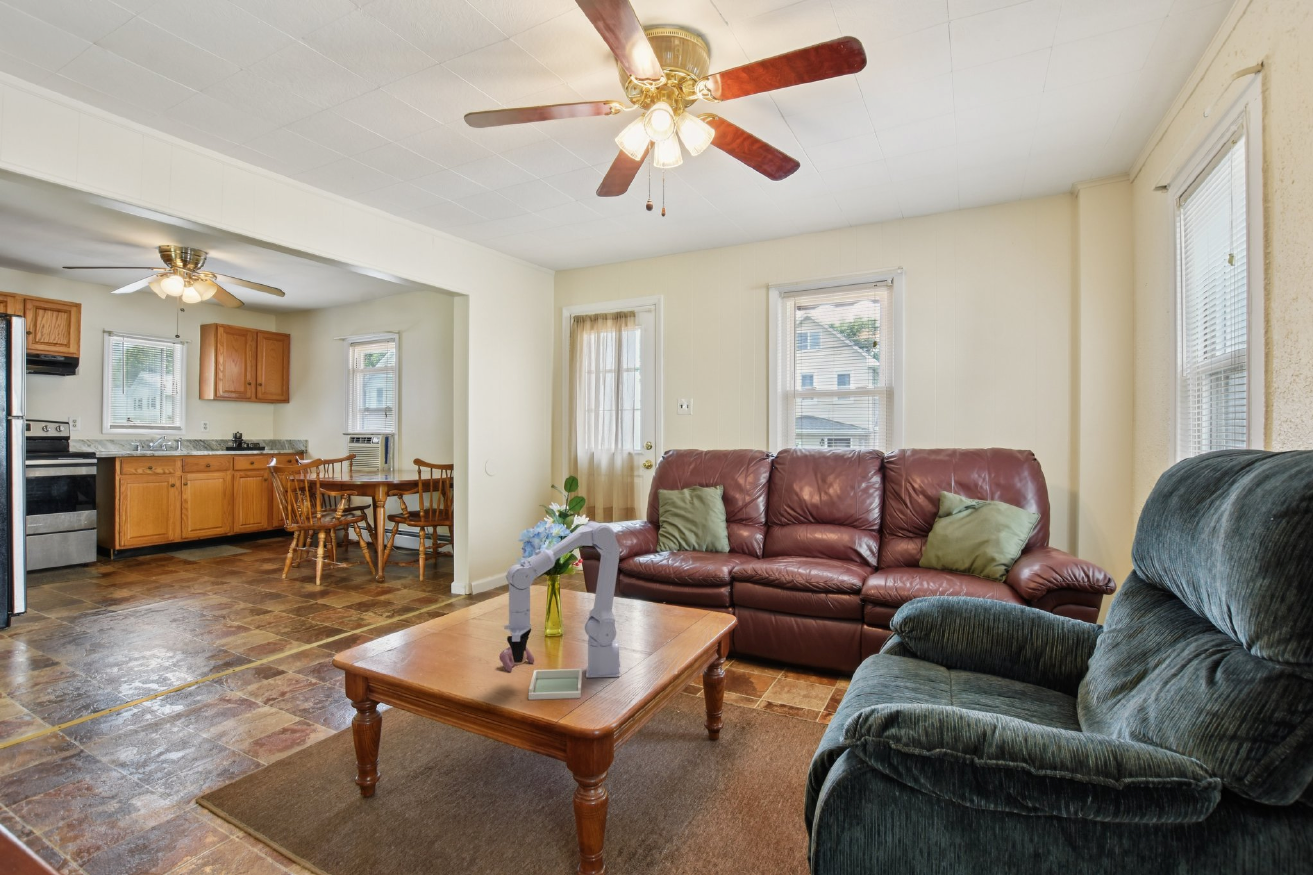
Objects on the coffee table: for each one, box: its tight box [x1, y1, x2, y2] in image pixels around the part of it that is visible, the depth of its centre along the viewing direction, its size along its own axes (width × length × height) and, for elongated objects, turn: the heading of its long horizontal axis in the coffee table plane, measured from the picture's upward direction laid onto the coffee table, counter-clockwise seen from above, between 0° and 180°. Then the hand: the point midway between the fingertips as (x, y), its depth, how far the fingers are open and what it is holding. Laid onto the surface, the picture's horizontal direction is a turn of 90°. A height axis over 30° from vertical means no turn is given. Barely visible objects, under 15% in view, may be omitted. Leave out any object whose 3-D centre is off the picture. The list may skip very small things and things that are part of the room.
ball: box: [512, 651, 527, 666], centre depth 167 cm, size 4×4×4 cm
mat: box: [533, 678, 578, 693], centre depth 168 cm, size 11×11×1 cm
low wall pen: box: [528, 668, 583, 701], centre depth 168 cm, size 14×14×2 cm
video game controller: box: [499, 646, 535, 673], centre depth 184 cm, size 10×5×7 cm, turn 141°
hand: (519, 658), depth 167 cm, fingers closed on ball, 4 cm apart
